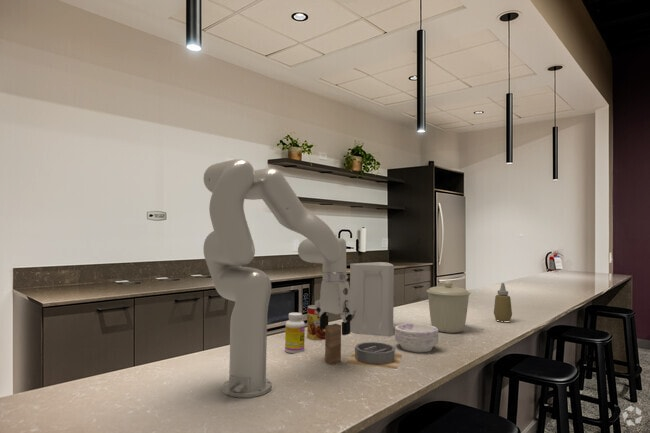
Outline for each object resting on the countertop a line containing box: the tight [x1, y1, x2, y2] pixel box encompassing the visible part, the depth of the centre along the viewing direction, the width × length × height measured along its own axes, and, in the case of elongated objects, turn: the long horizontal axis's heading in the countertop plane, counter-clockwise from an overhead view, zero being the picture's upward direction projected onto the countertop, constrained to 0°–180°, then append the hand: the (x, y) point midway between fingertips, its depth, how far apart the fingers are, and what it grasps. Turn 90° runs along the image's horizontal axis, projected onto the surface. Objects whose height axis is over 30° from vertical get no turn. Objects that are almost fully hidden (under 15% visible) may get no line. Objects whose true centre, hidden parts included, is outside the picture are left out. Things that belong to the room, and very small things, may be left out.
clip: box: [363, 346, 387, 353], centre depth 136 cm, size 5×6×3 cm
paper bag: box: [349, 261, 395, 337], centre depth 174 cm, size 19×15×28 cm
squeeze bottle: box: [493, 282, 513, 322], centre depth 198 cm, size 8×8×18 cm
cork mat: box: [345, 350, 403, 370], centre depth 136 cm, size 16×16×1 cm
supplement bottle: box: [284, 312, 306, 354], centre depth 145 cm, size 7×7×13 cm
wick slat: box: [324, 323, 342, 365], centre depth 132 cm, size 2×4×12 cm, turn 134°
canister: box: [425, 280, 471, 334], centre depth 179 cm, size 18×18×21 cm
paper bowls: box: [394, 323, 440, 353], centre depth 149 cm, size 15×15×8 cm
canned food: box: [306, 304, 329, 341], centre depth 164 cm, size 8×8×12 cm
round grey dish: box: [354, 341, 396, 365], centre depth 136 cm, size 13×13×4 cm
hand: (334, 331), depth 133 cm, fingers open, 9 cm apart
